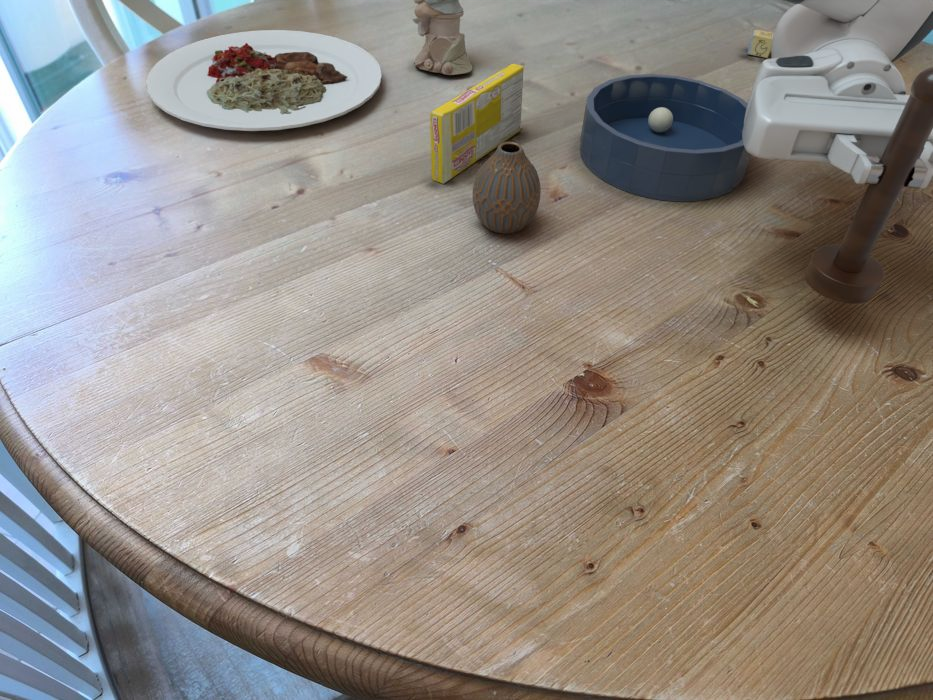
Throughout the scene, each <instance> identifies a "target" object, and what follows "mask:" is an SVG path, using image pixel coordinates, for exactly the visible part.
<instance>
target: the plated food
mask: <svg viewBox="0 0 933 700" xmlns="http://www.w3.org/2000/svg"><path fill="white" fill-rule="evenodd" d="M382 79H383V75H382V69H381V65H380V64H379V62H378V61H377V59H376V58H375V57H374V56H373V55H372V54H370V52H368V51H367V50H365V49H364V48H362V47H361V46H358V45H356V44H355V43H353V42H351V41H348V40H344V39H341V38H340V37H335V36H331V35H327V34H322V33H317V32H309V31H303V30H302V31H301V30H287V29H286V30H285V29H266V30H265V29H262V30H259V29H258V30H249V31H240V32H233V33H226V34H221V35H216V36H212V37H208V38H205V39H201V40H197V41H195V42H192V43H188V44H186V45H184V46H182V47H179V48H178V49H176V50H174V51H172V52H170V53H168V54H166V55H165V56H164V57H163V58H161V59H159V61H157V62H156V63H155V64H154V65H153V66H152V68H150V70H149V72H148V75H147V77H146V80H145V82H146V83H145V84H146V90H147V95H148V96H149V98H150V99H151V101H152V102H153V103H154V105H155V106H157V107H158V108H159V109H161V110H162V111H164V112H165V114H168V115H170V116H172V117H174V118H177V119H179V120H182V121H184V122H187V123H191V124H195V125H198V126H202V127H207V128H213V129H219V130H227V131H243V132H259V131H260V132H261V131H281V130H287V129H294V128H302V127H306V126H307V127H308V126H311V125H315V124H320V123H323V122H327V121H330V120H332V119H335V118H338V117H342V116H344V115H346V114H348V113H350V112H352V111H354V110H355V109H358V108H359V107H361V106H362V105H364V104H365V103H366V102H368V101H369V100H371V99H372V98H373V96H374V95H375V94H376V93H377V91H378V90H379V89H380V86H381V84H382V83H381V82H382Z"/></svg>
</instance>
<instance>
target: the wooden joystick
mask: <svg viewBox="0 0 933 700" xmlns="http://www.w3.org/2000/svg"><path fill="white" fill-rule="evenodd" d="M909 95H910V96H909V98H908V101H907V103H906V105H905V107H904V109H903V111H902V114H901V116H900V118H899V120H898V122H897V124H896V127H895V129H894V131H893V133H892V135H891V137H890V140H889V142H888V144H887V146H886V148H885V150H884V153H883V155H882V157H881V159H880V160H881V161H880V162H882V163H883V165H884V170H883V173H882V175H881V176H879V177H878V178H879V181H878V183H877V184H876V185H870V184H867V187H866V189H865V191H864V194H863V196H862V198H861V200H860V203H859V205H858V206H857V209H856V211H855V214H854V215H853V218H852V220H851V221H850V225H849V226H848V229H847V230H846V233H845V235H844V237H843V239H842V242H841V244H827V245H822V246H820V247H818V248H816V249H815V250H814V251H813V252H812V255H811V257H810V259H809V261H808V264H807V266H806V269H805V271H804V279H805V281H806V283H807V285H808V286H809V287H810V288H811V289H812V290H813V291H814V292H815V293H817V294H819V295H820V296H821V297H824V298H825V299H828V300H830V301H833V302H836V303H841V304H846V305H859V304H865V303H867V302H869V301H871V300H872V299H874V297H875V296H876V293H877V292H878V291H879V287H880V286H881V284H882V282H883V280H884V278H885V270H884V267H883V266H882V264H881V263H880V261H878V260H877V259H876V258H875V257H873V256H872V255H871V253H872V251H873V249H874V247H875V245H876V243H877V241H878V239H879V237H880V235H881V233H882V231H883V229H884V227H885V225H886V223H887V221H888V219H889V217H890V215H891V213H892V211H893V209H894V208H895V206H896V203H897V201H898V199H899V197H900V195H901V193H902V192H903V190H904V188H905V187H904V185H905V183H906V181H907V179H908V177H909V175H910V173H911V171H912V169H913V167H914V165H915V163H916V161H917V159H918V157H919V155H920V153H921V151H922V149H923V147H924V145H925V143H926V141H927V139H928V137H929V135H930V133H931V131H932V129H933V66H932V67H931V66H930V67H928V68H925V69H924V70H922V71H921V72H919V73H918V74H917V75H916V76H915V78H913V81H912V83H911V86H910V94H909Z"/></svg>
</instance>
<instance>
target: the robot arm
mask: <svg viewBox="0 0 933 700" xmlns="http://www.w3.org/2000/svg"><path fill="white" fill-rule="evenodd" d="M783 2H787V3H791V4H794V5H793V6H791V7H790V8H789V9H787V11H786V12H785V13H784V14H783V15H782V16H781V18H780V19H779V20H778V22H777V24H776V26H775V28H774V31H773V33H774V35H773V39H772V47H771V50H770V56H771V58H766V59H765V60H763V61H762V63H761V65H760V67H759V69H758V72H757V75H756V77H755V79H754V82H753V85H752V87H751V91H750V93H749V97H748V100H747V103H748V104H747V108H746V113H745V118H744V127H743V130H742V139H743V144H744V147H745V149H746V151H747V152H748V153H750V154H751V156H752V157H756V158H759V159H764V160H765V159H766V160H779V161H783V160H784V161H791V162H793V161H794V162H807V163H819V164H830V165H831V166H833V167H836V168H837V169H839V170H840V171H843V172H845V173H847V174H848V175H851V177H852V179H853V181H854V182H855V184H857V185H869V184H870V185H876V184H877V183H878V181H879V178H878V177H879V176H881V175H882V173H883V170H884V165H883V163H882V162H880V161H881V160H880V159H881V157H882V155H883V153H884V150H885V148H886V146H887V144H888V142H889V140H890V137H891V135H892V133H893V131H894V129H895V127H896V124H897V122H898V120H899V118H900V116H901V114H902V111H903V109H904V107H905V105H906V103H907V101H908V98H909V96H910V94H907V87H906V82H905V79H904V77H903V75H902V74H901V72H900V71H899V69H898V68H897V67H896V65H895V64H894V62H896V61H897V60H899V59H900V58H902V57H903V56H905V55H906V54H907V53H909V52H910V51H911V50H913V49H915V48H916V46H918V45H919V44H920V43H921V42H922V41H923V40H924V39H926V38H927V36H929V34H930V33H931V32H932V31H933V0H783ZM932 178H933V129H932V131H931V133H930V135H929V137H928V139H927V141H926V143H925V145H924V147H923V149H922V151H921V153H920V155H919V157H918V159H917V161H916V163H915V165H914V167H913V169H912V171H911V173H910V175H909V177H908V179H907V181H906V183H905V185H904V187H903V188H908V189H909V188H910V189H922V190H925V189H927V187H928V186H929V184H930V182H931V180H932Z"/></svg>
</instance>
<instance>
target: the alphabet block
mask: <svg viewBox="0 0 933 700" xmlns="http://www.w3.org/2000/svg"><path fill="white" fill-rule="evenodd" d="M773 35H774V32H770V31H766V30H760V29H753V31H752V35H751V39H750V42H749V45H748V48H747V52H746V53H747V55H748V56H749V55H750V56H755V57H758V58H759V57H760V58H765V59H769V57H770V54H771V47H772V39H773Z"/></svg>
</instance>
